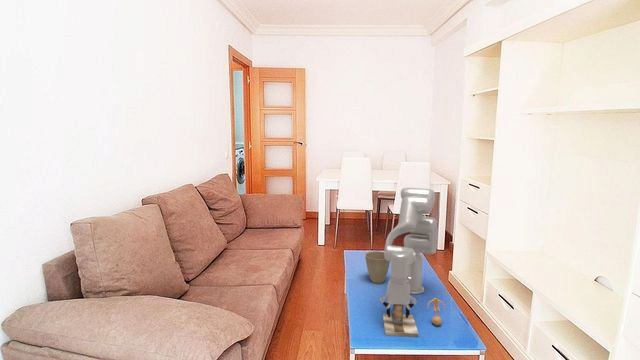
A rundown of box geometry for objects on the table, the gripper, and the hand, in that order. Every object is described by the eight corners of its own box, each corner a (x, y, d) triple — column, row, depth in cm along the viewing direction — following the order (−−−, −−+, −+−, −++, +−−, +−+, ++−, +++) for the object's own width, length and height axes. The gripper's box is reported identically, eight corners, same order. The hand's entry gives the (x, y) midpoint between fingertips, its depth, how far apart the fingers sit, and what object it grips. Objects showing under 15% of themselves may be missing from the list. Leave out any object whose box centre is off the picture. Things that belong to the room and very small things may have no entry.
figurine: (429, 327, 163) (430, 302, 161) (425, 320, 169) (426, 296, 167) (447, 327, 163) (448, 302, 161) (442, 320, 169) (443, 296, 167)
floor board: (382, 316, 172) (382, 313, 172) (412, 318, 171) (412, 314, 171) (385, 335, 156) (385, 331, 156) (418, 337, 155) (418, 333, 155)
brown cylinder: (392, 319, 166) (392, 301, 165) (401, 320, 166) (402, 301, 164) (393, 324, 162) (393, 305, 160) (403, 325, 161) (403, 306, 160)
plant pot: (388, 276, 220) (389, 251, 218) (391, 286, 206) (391, 259, 203) (364, 275, 222) (364, 250, 220) (364, 285, 207) (365, 259, 205)
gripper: (417, 276, 164) (415, 313, 166) (378, 275, 165) (377, 311, 168) (420, 283, 156) (418, 321, 159) (379, 281, 158) (378, 319, 160)
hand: (397, 316), depth 163 cm, fingers open, 7 cm apart
